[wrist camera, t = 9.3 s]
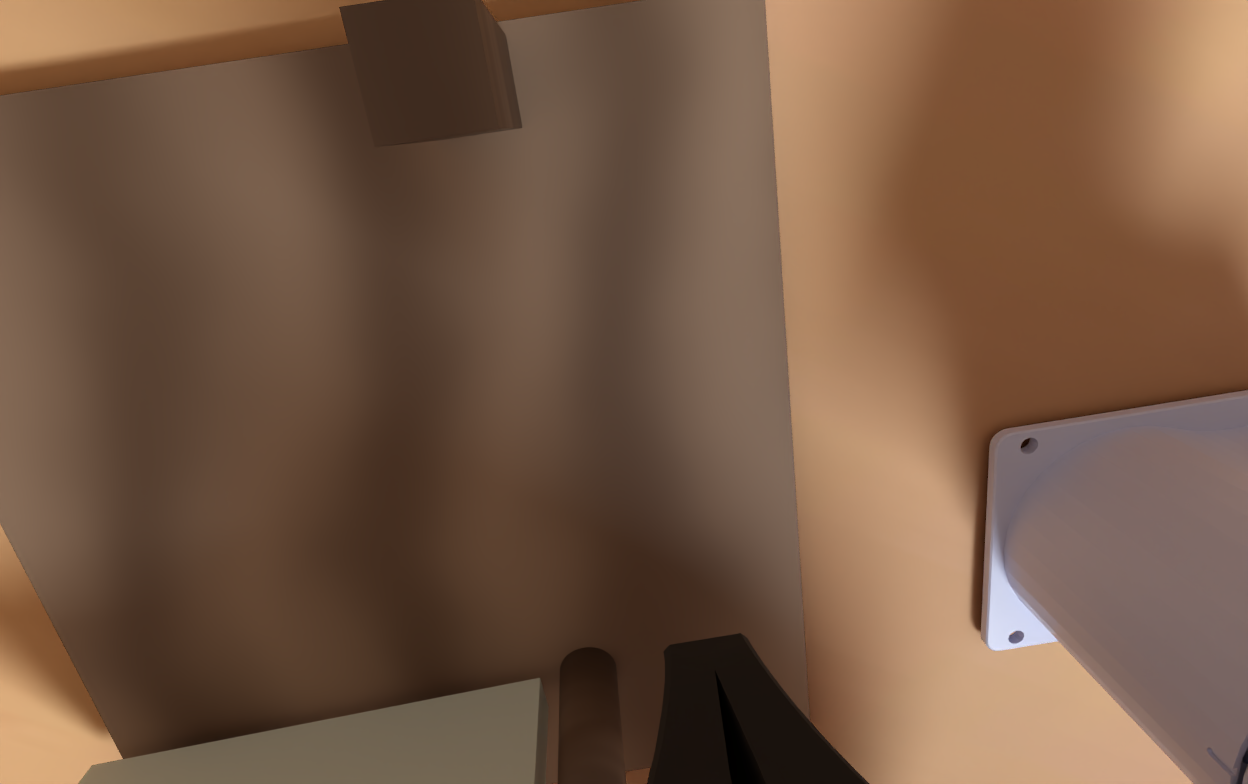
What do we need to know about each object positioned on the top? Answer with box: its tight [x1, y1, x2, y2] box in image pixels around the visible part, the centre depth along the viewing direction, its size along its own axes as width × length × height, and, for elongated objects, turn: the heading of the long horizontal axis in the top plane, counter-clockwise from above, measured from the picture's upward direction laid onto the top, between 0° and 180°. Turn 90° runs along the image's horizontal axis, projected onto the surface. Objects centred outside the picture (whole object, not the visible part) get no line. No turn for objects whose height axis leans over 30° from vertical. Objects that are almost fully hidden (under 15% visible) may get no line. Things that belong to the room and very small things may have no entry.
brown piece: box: [0, 0, 810, 784], centre depth 18 cm, size 22×23×7 cm
